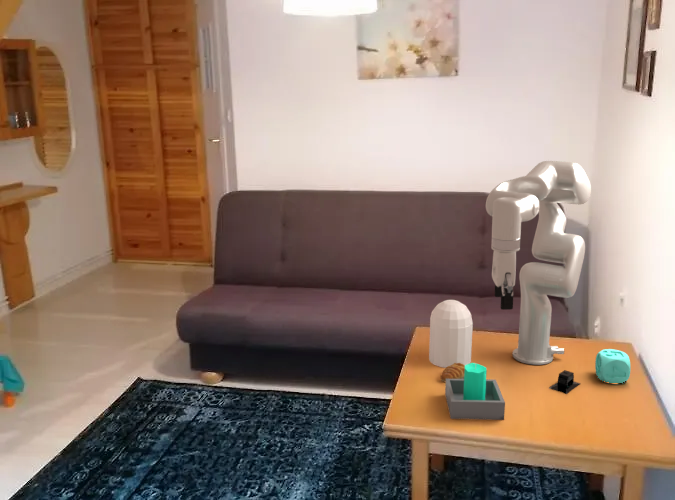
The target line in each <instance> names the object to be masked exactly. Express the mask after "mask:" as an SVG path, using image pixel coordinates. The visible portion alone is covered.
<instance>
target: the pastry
mask: <svg viewBox="0 0 675 500" xmlns="http://www.w3.org/2000/svg"><path fill="white" fill-rule="evenodd" d="M464 370H465V365H463V364H461V363H454V364H452V365H450V366H448V367H446V368H443V370H442V372H441V375H440V381H441V382H445V383H446V379H464Z"/></svg>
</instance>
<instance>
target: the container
mask: <svg viewBox="0 0 675 500" xmlns="http://www.w3.org/2000/svg"><path fill="white" fill-rule="evenodd" d="M430 314H431V315H430V318H429V321H430V322H429V346H428V347H429V348H428V354H429V355H428V359H429V362H430V363H431V364H432V365H435V366H436V367H440V368H443V369H445V368H446V367H448V366H450V365H452V364H454V363H461V364H463V365H467V364H470V363H472V347H473V346H472V344H473V329H474V327H473V325H474V321H473V319H472V313H471V311H470V310H469V308H468V307H467V305H466V304H464V303H462V302H461V301H459V300H455V299H446V300H443V301H441V302H439V303H437V304H436V306H435V307H434V308H433V309H432V311H431V313H430Z"/></svg>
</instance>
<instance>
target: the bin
mask: <svg viewBox="0 0 675 500" xmlns="http://www.w3.org/2000/svg"><path fill="white" fill-rule="evenodd" d="M444 390H445V392H444V395H445V400H446V404H447V408H448V409H447V410H448V412H449V417H450V419H451V420H453V419H455V420H489V421H491V420H492V421H493V420H496V421H497V420H499V421H500V420H501V421H502V420H503V421H504V420H505V412H506V411H505V410H506V401H505V399H504V397H503V395H502V392H501V389H500V387H499V385H498V382H497V379H490V378H489V379H487V378H486V391H485V400H463V393H464V379H446V382H445V389H444Z"/></svg>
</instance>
